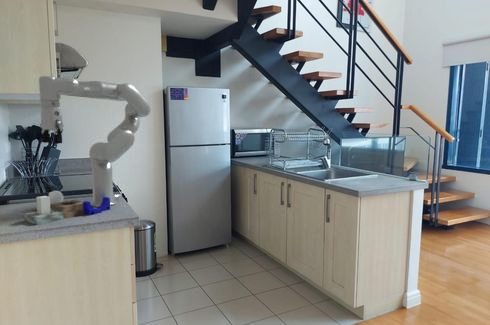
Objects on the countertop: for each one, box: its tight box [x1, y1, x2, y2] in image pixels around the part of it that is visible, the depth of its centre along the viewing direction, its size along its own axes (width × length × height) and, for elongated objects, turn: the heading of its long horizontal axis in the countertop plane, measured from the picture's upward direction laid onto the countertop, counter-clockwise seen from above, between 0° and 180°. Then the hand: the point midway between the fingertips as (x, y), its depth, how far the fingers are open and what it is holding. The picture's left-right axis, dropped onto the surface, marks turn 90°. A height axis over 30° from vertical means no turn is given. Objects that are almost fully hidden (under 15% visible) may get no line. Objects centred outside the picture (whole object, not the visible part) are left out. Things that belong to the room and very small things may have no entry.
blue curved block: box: [82, 197, 111, 216], centre depth 161 cm, size 12×4×6 cm, turn 150°
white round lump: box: [48, 190, 64, 207], centre depth 171 cm, size 8×8×8 cm
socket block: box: [23, 199, 85, 226], centre depth 152 cm, size 22×10×5 cm, turn 147°
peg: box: [35, 195, 51, 215], centre depth 147 cm, size 4×4×10 cm
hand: (52, 142), depth 156 cm, fingers open, 9 cm apart
